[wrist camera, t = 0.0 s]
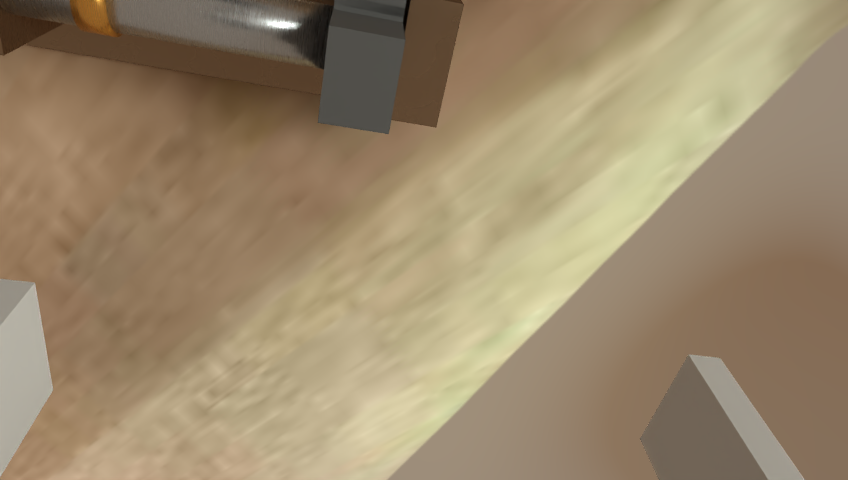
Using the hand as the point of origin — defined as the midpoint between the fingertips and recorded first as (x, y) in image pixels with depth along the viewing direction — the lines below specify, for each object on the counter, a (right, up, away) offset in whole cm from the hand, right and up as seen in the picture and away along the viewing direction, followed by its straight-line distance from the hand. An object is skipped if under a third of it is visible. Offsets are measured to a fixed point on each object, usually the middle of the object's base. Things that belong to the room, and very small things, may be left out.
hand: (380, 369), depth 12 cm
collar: (-2, +14, +19) cm, 24 cm away
